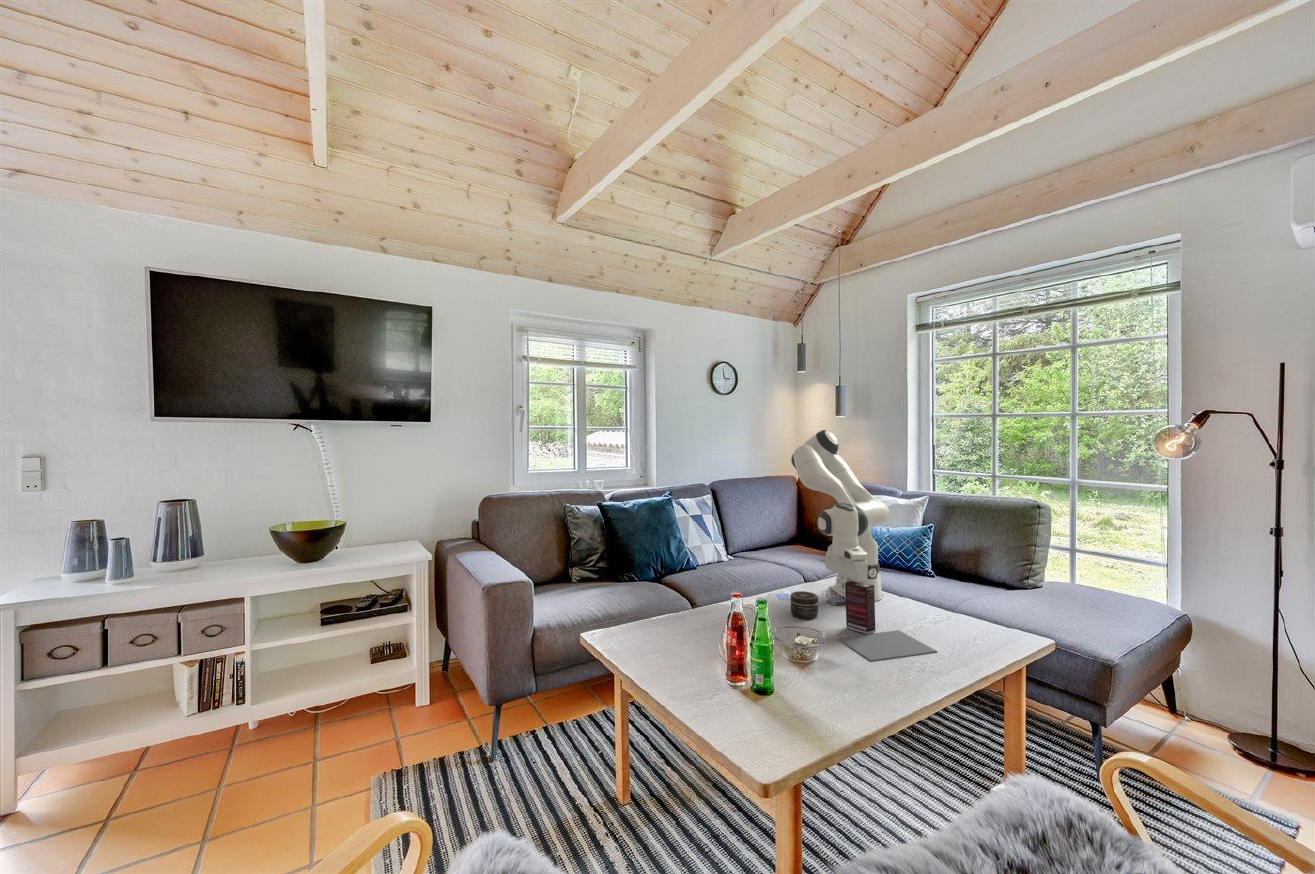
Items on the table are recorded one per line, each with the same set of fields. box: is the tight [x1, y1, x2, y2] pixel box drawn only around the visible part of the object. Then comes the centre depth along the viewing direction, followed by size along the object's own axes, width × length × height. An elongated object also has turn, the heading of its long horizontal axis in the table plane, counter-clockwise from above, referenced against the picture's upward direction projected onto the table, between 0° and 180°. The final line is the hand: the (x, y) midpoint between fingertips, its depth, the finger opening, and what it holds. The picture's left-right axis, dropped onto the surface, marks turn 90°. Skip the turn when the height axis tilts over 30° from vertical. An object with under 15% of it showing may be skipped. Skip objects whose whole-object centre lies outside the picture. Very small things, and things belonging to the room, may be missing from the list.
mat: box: [836, 629, 938, 662], centre depth 167 cm, size 17×24×1 cm
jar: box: [790, 590, 819, 621], centre depth 194 cm, size 10×10×8 cm
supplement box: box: [845, 581, 876, 634], centre depth 179 cm, size 9×5×16 cm, turn 35°
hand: (845, 587), depth 187 cm, fingers closed
